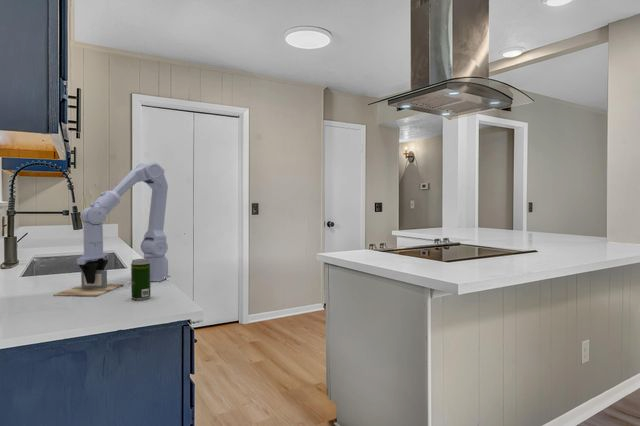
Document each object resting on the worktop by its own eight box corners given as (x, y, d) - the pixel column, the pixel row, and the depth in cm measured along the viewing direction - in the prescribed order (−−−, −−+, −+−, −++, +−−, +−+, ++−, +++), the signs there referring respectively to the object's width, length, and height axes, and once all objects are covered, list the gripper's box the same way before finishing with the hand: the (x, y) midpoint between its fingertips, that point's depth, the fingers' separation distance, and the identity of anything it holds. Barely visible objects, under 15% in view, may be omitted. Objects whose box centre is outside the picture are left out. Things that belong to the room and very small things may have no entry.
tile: (84, 287, 138) (84, 269, 138) (107, 287, 138) (106, 270, 137) (81, 288, 136) (81, 270, 136) (104, 288, 136) (104, 271, 136)
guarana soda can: (154, 297, 126) (154, 259, 126) (139, 301, 121) (139, 261, 121) (142, 295, 129) (142, 258, 128) (127, 299, 124) (127, 260, 123)
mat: (85, 284, 143) (85, 283, 143) (123, 285, 143) (123, 284, 143) (53, 295, 128) (53, 294, 127) (96, 296, 127) (96, 295, 127)
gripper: (94, 240, 144) (95, 277, 144) (67, 244, 129) (68, 286, 130) (114, 240, 144) (114, 278, 144) (88, 245, 129) (89, 287, 130)
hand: (94, 282), depth 137 cm, fingers open, 3 cm apart
